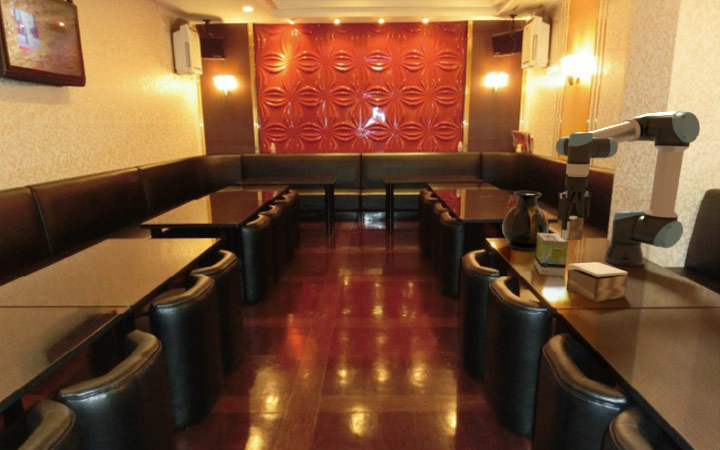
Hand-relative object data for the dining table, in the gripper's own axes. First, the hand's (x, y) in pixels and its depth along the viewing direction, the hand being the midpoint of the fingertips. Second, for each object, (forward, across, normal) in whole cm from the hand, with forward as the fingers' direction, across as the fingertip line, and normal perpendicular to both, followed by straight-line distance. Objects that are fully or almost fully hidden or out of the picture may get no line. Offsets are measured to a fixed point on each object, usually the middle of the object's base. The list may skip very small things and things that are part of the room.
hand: (571, 237), depth 170 cm
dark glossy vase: (+19, -20, -51) cm, 58 cm away
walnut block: (0, 0, 0) cm, 0 cm away
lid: (+10, -3, +10) cm, 15 cm away
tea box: (+19, -6, -17) cm, 26 cm away
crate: (+19, -3, +10) cm, 22 cm away
